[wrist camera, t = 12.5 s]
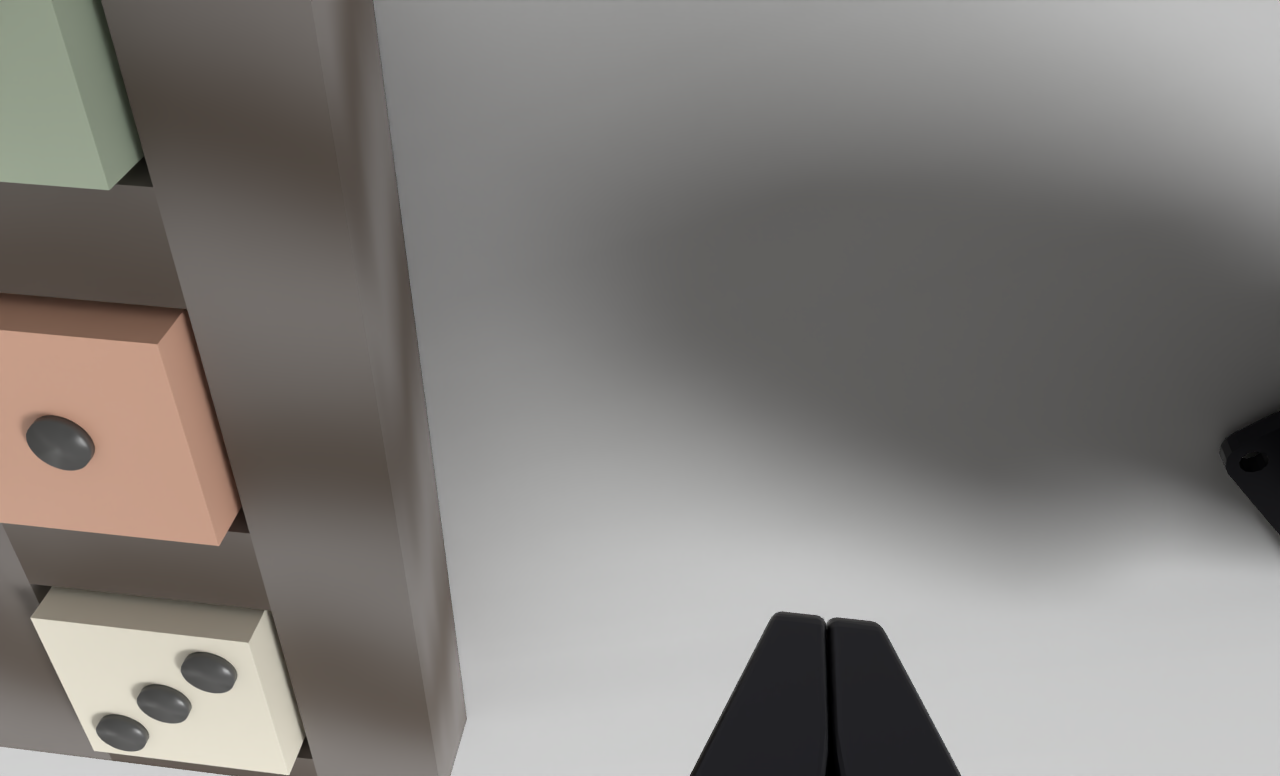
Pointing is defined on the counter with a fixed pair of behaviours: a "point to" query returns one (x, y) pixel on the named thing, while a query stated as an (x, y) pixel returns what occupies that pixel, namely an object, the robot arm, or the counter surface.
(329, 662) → the tile board
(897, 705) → the robot arm
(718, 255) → the counter surface
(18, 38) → the tile two
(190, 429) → the tile one
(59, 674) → the tile three
